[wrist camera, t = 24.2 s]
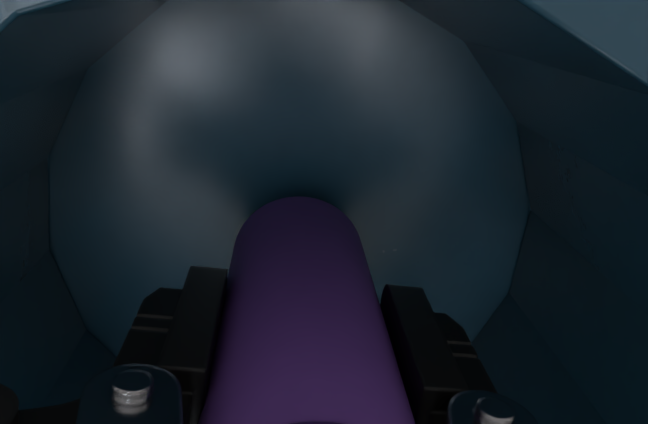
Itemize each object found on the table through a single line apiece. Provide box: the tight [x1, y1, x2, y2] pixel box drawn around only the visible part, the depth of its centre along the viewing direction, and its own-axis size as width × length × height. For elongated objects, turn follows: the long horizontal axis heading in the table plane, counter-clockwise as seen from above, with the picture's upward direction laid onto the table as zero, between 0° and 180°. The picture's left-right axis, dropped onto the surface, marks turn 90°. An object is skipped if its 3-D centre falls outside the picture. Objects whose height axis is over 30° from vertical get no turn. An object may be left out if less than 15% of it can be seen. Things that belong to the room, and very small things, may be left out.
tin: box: [0, 0, 648, 424], centre depth 13 cm, size 15×15×10 cm
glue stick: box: [198, 196, 415, 424], centre depth 11 cm, size 3×3×10 cm
